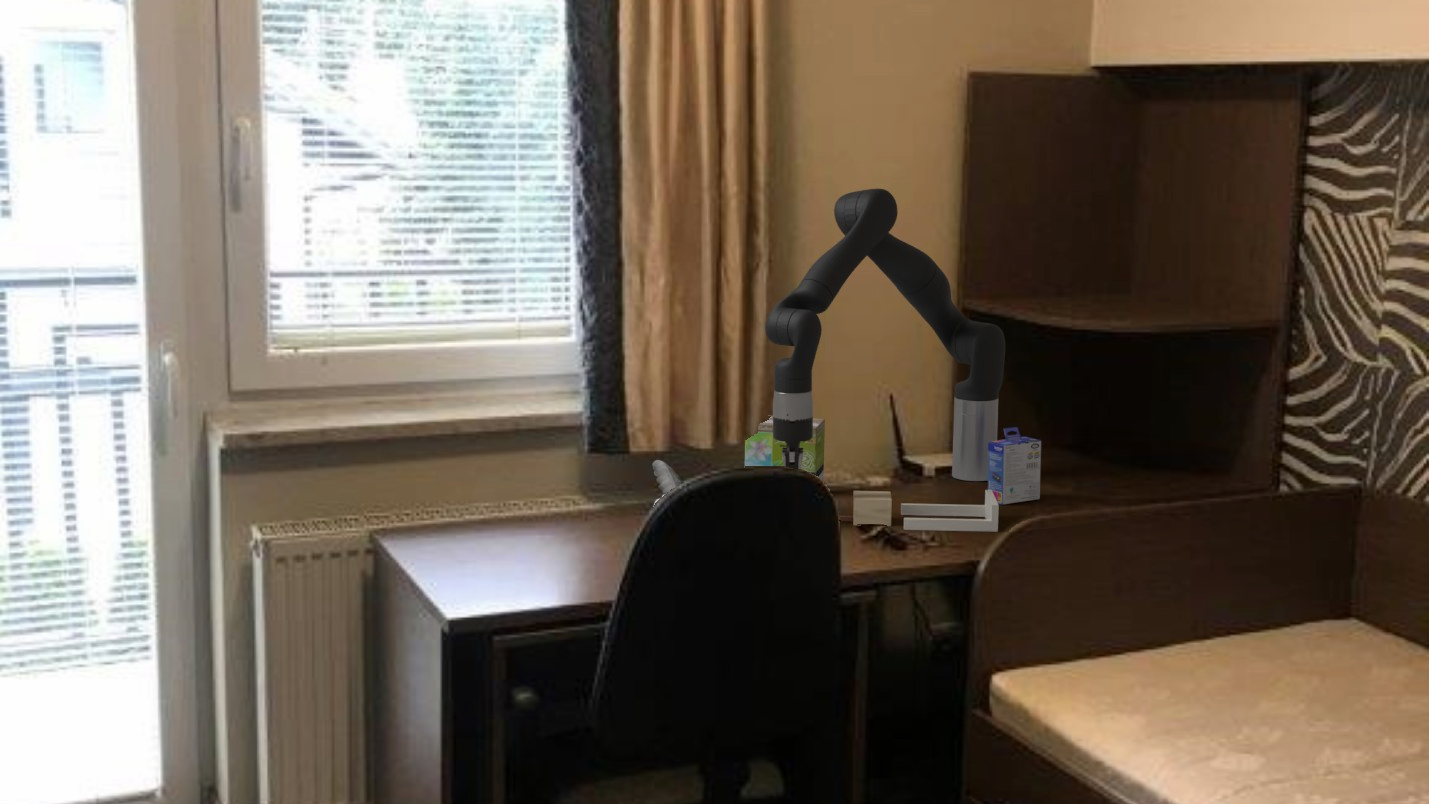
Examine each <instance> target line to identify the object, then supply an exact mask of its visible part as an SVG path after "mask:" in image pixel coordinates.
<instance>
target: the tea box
mask: <svg viewBox="0 0 1429 804" xmlns="http://www.w3.org/2000/svg"><path fill="white" fill-rule="evenodd" d="M770 416H771V417H770V418H769V420H767V421H765V422H763V423H760V424H759V425H758V430H759V431H758V433H757V434H754V436H751V437H750V438H748V439H747V440H745V439H744V467H745V466H783V459H782V450H783V447H787V444H786V442H785V441H778V440H775V439H774V438H773V415H770ZM825 426H826V419H825V418H814V417H813V437H812V439H811V440H809V441H805V442H803V441H801V442H800V447H802V448H803V460H802V468H801V469H802V470H805V471H807V472H811V473H812V474H814V475H816V476H818V477H819V478H821V480H823V481H824V471H825V470H824V469H825V432H826V431H825V429H826V427H825Z"/></svg>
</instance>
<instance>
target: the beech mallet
mask: <svg viewBox="0 0 1429 804" xmlns="http://www.w3.org/2000/svg"><path fill="white" fill-rule="evenodd" d="M852 498H853V501H852V506H853V507H852V511H853V512H852V515H839V516H840V519H841V521H840V522H852V523H853V524H852V525H853V526H858V525H857V524H884V525H887V526H886V527H891V526H892V500H893V499H892V493H891V491H881V490H880V491H878V490H877V491H876V490H875V491H874V490H853V497H852Z"/></svg>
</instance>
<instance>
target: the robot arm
mask: <svg viewBox="0 0 1429 804" xmlns="http://www.w3.org/2000/svg"><path fill="white" fill-rule="evenodd" d="M833 210H834V211H833V212H834V213H833V214H834V219H835V222H836V224H837V227H838V228H839V230H840V232H841V233H842V235H844V236H843V237H842V238H841V239H840V240H839V241H838V242H837V243H836V244H834V245H833V246H832V247H830V248H829V250H827V251H826V252H824V253H823V254H822V255H821V256H820V257H819V258H818V259H817V260H816V261H815V262H814V263H813V264H812V265H811V266H810V268H809V269H808V271H807V272H806V274H805V276H804V277H803V278H802V279H801V281H800V282H799V284H798V286H797V287H796V288H795V289H794V290H792V291H790V293H788V294H787V295H786V296H785V297H783V299H781V300H780V301H779V302H777V304H776V305H774V307H773V308H772V309H771V310H770V312H769V314H767V318H766V321H765V324H764V325H765V326H764V330H765V335H766V337H767V339H768V340H769V341H770V342H771V343H772V344H776V345H777V346H778V345H779V346H788V347H793V351H792V355H791V356H790V357H787V358H781V359H779V360H777V361H775V365H774V370H773V371H774V375H773V376H774V377H773V378H774V380H773V381H774V382H773V383H774V384H773V386H774V388H773V389H774V390H773V392H774V393H773V401H772V416H773V438H774V439H775V440H778V441H785V442H786V444H787V447H783V450H782V459H783V466H785V467H789V468H793V469H801V468H802V460H803V448H802V447H800V442H801V441H803V442H805V441H809V440H811V439H812V437H813V418H814V399H813V391H812V389H813V380H812V379H813V374H812V373H813V368H814V367H813V366H814V363H815V359H816V355H817V351H818V349H819V344H820V341H821V336H822V322H821V319H820V318H819V316H818V315H819V314H822V313H825V312H826V311H827V310H828V309H829V307H830V306H831V304H832V302H833V301H834V300H835V298H836V297H837V295H838V294H839V292H840V290H841V289H842V288H843V287H844V284H845V283H846V281H847V280H848V279H849V277H850V276H851V275H852V273H853V272H854V271H856V269H857V267H858V266H859V265H860V264H861V263H862V261H864V260H865V258H866V257H868V258H869V259H870V260H871V261H872V262H873V263H874V264H875V265H876V266H877V268H878V270H880V271H881V272H882V273H883V275H885V276H886V277H887V278H888V279H889V280H890V281H891V283H892V284H893V285H894V287H895V288H896V289H897V290H898V292H899V293H900V294H901V295H902V296H903V298H904V299H906V301H907V302H908V303H909V304H910V305H911V306H912V307H913V308H914V310H915V311H917V313H918V314H919V315H920V316H921V317H922V319H923V320H924V321H925V322H926V323H927V324H928V326H930V327H931V328H932V331H934V333H935V334H936V336H937V337H938V339H939V341H940V342H941V344H942V345H943V346H944V348H945V349H946V351H947V352H948V354H949V355H950V357H952V359H954V360H955V361H956V362H958V363H960V364H964V365H968V366H970V372H969V377H968V378H966V380H963V381H962V380H961V381H959V382H957V383H956V384H955V387H954V399H953V400H954V402H953V403H954V404H953V436H952V439H953V440H952V466H951V467H952V469H951V477H953V478H954V479H957V480H961V481H967V482H985V481H986V482H988V442H990V441H997V440H998V425H999V423H998V421H999V397H1000V396H999V393H1000V390H1001V388H1002V384H1003V380H1004V370H1005V359H1006V358H1005V357H1006V339H1005V335H1004V332H1003V330H1002V329H1001V328H1000V327H999V326H998V325H996V324H993V323H988V322H983V321H982V322H981V321H976V320H975V321H974V320H971V319H970V318H968V317H966V316H965V315H964V314H963V313H962V312H961V311H960V309H959V308H958V307H957V306H956V305H955V304H954V302H953V300H952V291H951V284H950V281H949V279H948V277H947V276H946V274H945V273H944V271H943V270H942V269H941V268H940V267H939V265H938V264H937V263H936V261H934V260H933V259H932V258H931V257H930V255H928V254H927V253H926V252H924V251H922V250H920V249H919V248H917V247H915V246H914V245H912V244H910V243H907V242H905V241H904V240H901V239H900V238H897V237H895V235H893V234H891V233H890V232H891V230H892V229H893V227H894V226H895V223H896V221H897V218H898V204H897V201H896V199H895V197H894V196H893V195H892V193H891V192H890V191H889V190H887V189H884V188H869V189H863V190H856V191H853V192H849V193H845V194H843V195H841V196H839V198H838V199H837V200H836V202H835V204H834V209H833Z"/></svg>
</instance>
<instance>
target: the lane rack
mask: <svg viewBox="0 0 1429 804" xmlns="http://www.w3.org/2000/svg"><path fill="white" fill-rule="evenodd" d="M984 491H985V492H984V504H957V503H955V504H954V503H953V504H949V503H947V504H945V503H944V504H943V503H906V502H905V503H900V515H901V516H928V517H904V518H903V530H905V531H906V530H907V531H944V532H945V531H946V532H947V531H950V532H952V531H953V532H988V533H989V532H993V533H994V532H998V531H999V505H1000V504H999V503H997V501H996V498H995V496H994V494H993V492H992V490H988V489H985V490H984ZM929 516H936V517H934V518H933V517H931V518H929ZM938 517H939V518H938ZM940 517H945V518H940ZM946 517H980V518H946ZM982 517H983V519H982Z"/></svg>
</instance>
